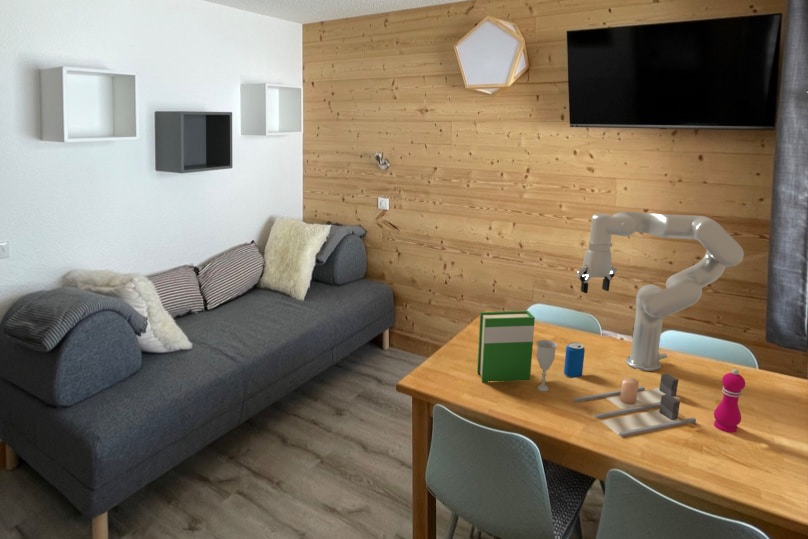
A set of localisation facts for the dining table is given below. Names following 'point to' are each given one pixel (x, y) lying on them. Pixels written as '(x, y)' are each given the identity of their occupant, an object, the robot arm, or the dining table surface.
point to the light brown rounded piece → (629, 390)
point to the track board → (633, 409)
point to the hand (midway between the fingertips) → (594, 291)
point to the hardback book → (505, 345)
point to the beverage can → (574, 360)
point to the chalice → (545, 359)
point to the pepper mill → (729, 403)
